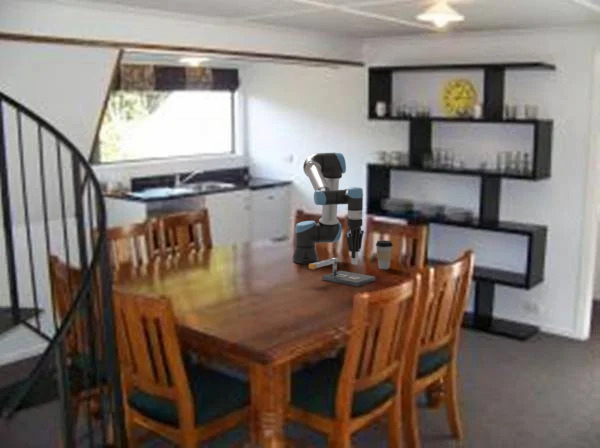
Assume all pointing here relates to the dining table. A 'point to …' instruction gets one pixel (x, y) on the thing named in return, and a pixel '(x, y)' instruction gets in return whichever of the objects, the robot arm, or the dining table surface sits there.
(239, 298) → the dining table surface
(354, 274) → the chassis
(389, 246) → the coffee cup
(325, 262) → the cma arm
